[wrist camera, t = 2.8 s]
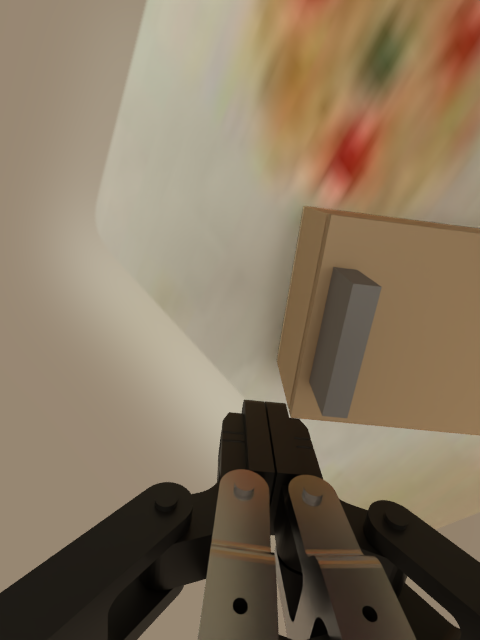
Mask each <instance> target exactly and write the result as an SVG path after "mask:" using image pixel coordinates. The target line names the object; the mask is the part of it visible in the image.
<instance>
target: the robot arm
mask: <svg viewBox="0 0 480 640" xmlns="http://www.w3.org/2000/svg"><path fill="white" fill-rule="evenodd" d="M310 439H311V438H310V435H309V432H308V429H307V427H306V426H305V425H304V424H303V423H302V422H301V421H300V419H296V418H289V416H288V411H287V407H286V404H285V403H274V402H265V403H264V402H263V401H252V400H244V402H243V408H242V414H240V413H230V412H229V413H228V415H227V416H226V417H225V418H224V420H223V423H222V432H221V439H220V447H219V455H218V475H217V476H218V477H217V483H216V484H215V485H214V486H213V487H212V488H210V489H209V490H206V491H204V492H200V493H196V494H191V493H190V492H189V491H188V490H187V489H186V488H185V487H183V486H181V485H179V484H176V483H171V482H164V483H159V484H156V485H153V486H151V487H149V488H148V489H146V490H145V491H144V492H142V493H141V494H139V495H138V496H137V497H135V498H134V499H133V500H131V501H129V502H128V503H127V504H125V505H124V506H122V507H121V508H120V509H118V510H117V511H115V512H114V513H113V514H111V515H110V516H108V517H107V518H106V519H104V520H103V521H101V522H100V523H98V524H97V525H96V526H94V527H93V528H91V529H90V530H89V531H87V532H86V533H84V534H83V535H81V536H80V537H79V538H77V539H76V540H75V541H73V542H72V543H70V544H69V545H67V546H66V547H65V548H63V549H62V550H60V551H59V552H58V553H56V554H55V555H53V556H52V557H50V558H49V559H48V560H46V561H45V562H43V563H42V564H41V565H39V566H38V567H36V568H35V569H34V570H32V571H31V572H29V573H28V574H26V575H25V576H24V577H22V578H21V579H19V580H18V581H17V582H15V583H14V584H12V585H11V586H10V587H8V588H7V589H5V590H4V591H3V592H1V593H0V640H137V639H138V638H139V637H140V636H141V635H142V633H143V632H144V631H145V630H146V629H147V628H148V627H149V626H150V625H151V624H152V623H153V622H154V621H155V619H156V618H157V617H158V616H159V615H160V614H161V613H162V612H163V611H164V610H165V609H166V608H167V606H168V605H169V604H170V603H171V602H172V601H173V600H174V599H175V598H176V597H177V596H178V595H179V593H180V592H181V590H182V589H183V587H184V585H186V584H189V583H193V582H196V581H200V580H203V579H206V584H205V592H204V599H203V606H202V613H201V620H200V627H199V634H198V640H480V562H478V561H477V560H475V559H474V558H473V557H471V556H470V555H469V554H467V553H466V552H465V551H463V550H462V549H461V548H459V547H458V546H457V545H455V544H454V543H452V542H451V541H450V540H448V539H447V538H446V537H444V536H443V535H441V534H440V533H439V532H438V531H436V530H435V529H433V528H432V527H431V526H429V525H428V524H427V523H425V522H424V521H423V520H421V519H420V518H419V517H417V516H416V515H414V514H413V513H412V512H410V511H409V510H408V509H406V508H405V507H403V506H401V505H399V504H397V503H395V502H391V501H386V500H380V501H376V502H374V503H372V504H371V505H370V507H369V509H368V510H365V509H362V508H359V507H356V506H353V505H350V504H348V503H345V502H344V501H342V500H340V499H339V498H338V496H337V494H336V492H335V490H334V489H333V487H332V486H331V485H330V484H329V483H327V482H326V481H325V480H323V477H322V474H321V471H320V468H319V464H318V461H317V458H316V455H315V451H314V449H313V445H312V442H311V440H310ZM270 535H275V540H276V547H275V553H271V546H270ZM407 576H408V577H409V578H410V579H411V580H413V581H414V582H415V583H416V584H417V585H418V586H419V587H421V588H422V589H423V590H424V591H425V592H426V593H427V594H429V595H430V596H431V597H432V598H433V599H434V600H436V601H437V602H438V603H439V604H440V605H441V606H442V607H444V608H445V609H446V610H447V611H448V612H449V613H450V614H451V615H452V616H453V617H454V618H455V620H456V621H457V623H458V624H459V627H460V629H459V628H456V627H454V626H453V625H452V624H451V623H449V622H448V621H447V620H446V619H445V618H444V617H443V616H441V615H440V614H439V613H438V612H437V611H436V610H435V609H434V608H433V607H431V606H430V605H429V604H428V603H427V602H426V601H425V600H424V599H422V598H421V597H420V596H419V595H418V594H417V593H416V592H415V591H413V590H412V589H411V588H410V587H409V586H408V585H407V584H405V581H406V578H407ZM276 578H277V583H278V588H279V593H280V599H281V604H282V609H283V615H284V620H285V626H286V633H287V637H284V636H281V635H278V612H277V611H278V610H277V584H276Z"/></svg>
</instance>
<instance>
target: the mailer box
mask: <svg viewBox="0 0 480 640" xmlns="http://www.w3.org/2000/svg"><path fill="white" fill-rule="evenodd" d="M328 214H334V215H341V216H349V217H357V218H365V219H373V220H381V221H388V222H396V223H404V224H412V225H420V226H427V227H435V228H443V229H451V230H459V231H466V232H474V233H480V229H479V228H471V227H464V226H456V225H448V224H440V223H433V222H425V221H417V220H409V219H401V218H394V217H386V216H378V215H370V214H363V213H355V212H347V211H339V210H332V209H324V208H316V207H308V206H303V212H302V218H301V224H300V229H299V235H298V241H297V247H296V252H295V258H294V264H293V270H292V275H291V281H290V287H289V293H288V298H287V304H286V310H285V316H284V321H283V327H282V333H281V338H280V344H279V350H278V356H277V363H278V367H279V371H280V376H281V380H282V384H283V388H284V392H285V396H286V400H287V404H288V408H289V409H290V405H291V400H292V395H293V390H294V384H295V379H296V374H297V369H298V364H299V359H300V354H301V349H302V344H303V339H304V334H305V329H306V324H307V319H308V314H309V308H310V303H311V298H312V293H313V288H314V283H315V278H316V273H317V268H318V263H319V258H320V253H321V248H322V243H323V237H324V232H325V227H326V222H327V217H328Z"/></svg>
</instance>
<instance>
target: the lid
mask: <svg viewBox="0 0 480 640" xmlns="http://www.w3.org/2000/svg"><path fill="white" fill-rule="evenodd" d="M289 412H290V416H291V418H301V419H312V420H322V421H333V422H344V423H354V424H365V425H375V426H386V427H396V428H407V429H418V430H428V431H439V432H449V433H460V434H470V435H480V233H474V232H466V231H459V230H451V229H443V228H435V227H427V226H420V225H412V224H404V223H396V222H388V221H381V220H373V219H365V218H357V217H349V216H341V215H334V214H328V217H327V222H326V227H325V232H324V237H323V243H322V248H321V253H320V258H319V263H318V268H317V273H316V278H315V283H314V288H313V293H312V298H311V303H310V308H309V314H308V319H307V324H306V329H305V334H304V339H303V344H302V349H301V354H300V359H299V364H298V369H297V374H296V379H295V384H294V390H293V395H292V400H291V405H290V410H289Z"/></svg>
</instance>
